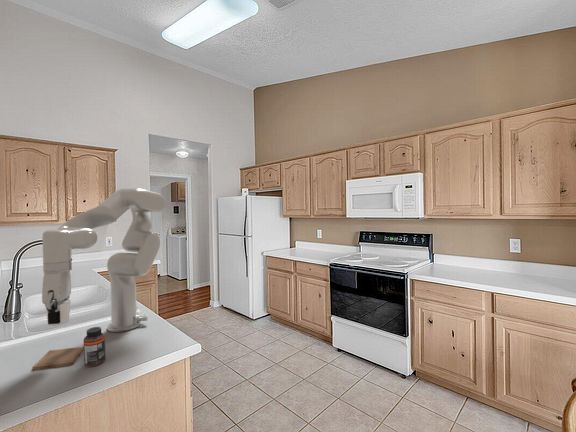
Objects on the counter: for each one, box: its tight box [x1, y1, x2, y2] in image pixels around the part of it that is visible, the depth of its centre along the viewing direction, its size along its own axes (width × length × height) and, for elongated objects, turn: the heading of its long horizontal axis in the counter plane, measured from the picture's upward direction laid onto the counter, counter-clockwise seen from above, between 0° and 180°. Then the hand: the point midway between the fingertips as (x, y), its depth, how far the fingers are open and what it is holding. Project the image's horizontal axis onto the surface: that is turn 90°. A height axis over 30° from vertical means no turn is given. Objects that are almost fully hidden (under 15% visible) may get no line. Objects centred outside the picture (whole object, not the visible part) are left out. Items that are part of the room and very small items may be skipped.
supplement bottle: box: [83, 326, 106, 368], centre depth 98 cm, size 6×6×11 cm
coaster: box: [32, 346, 84, 371], centre depth 101 cm, size 11×11×1 cm
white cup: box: [44, 298, 71, 327], centre depth 100 cm, size 7×7×7 cm
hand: (59, 319), depth 100 cm, fingers closed on white cup, 6 cm apart
